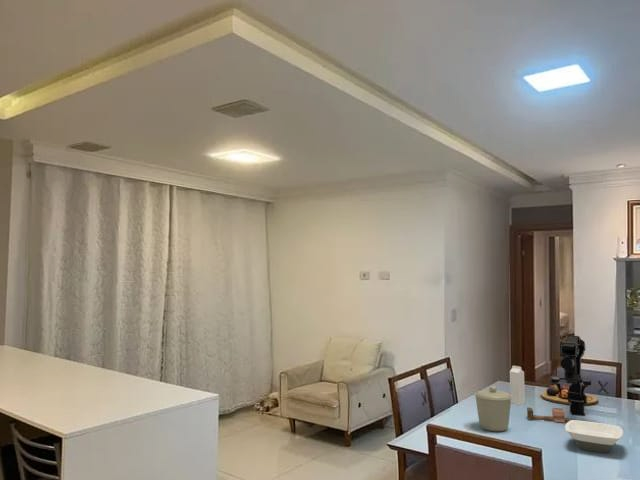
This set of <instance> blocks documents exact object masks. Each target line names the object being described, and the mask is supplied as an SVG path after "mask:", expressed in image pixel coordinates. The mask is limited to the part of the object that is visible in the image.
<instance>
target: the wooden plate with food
mask: <svg viewBox="0 0 640 480" xmlns="http://www.w3.org/2000/svg"><path fill="white" fill-rule="evenodd" d="M568 391H569V386H567V385H561V392H562V396H561V395H560V392H559V389H558V387H557V385H556V384H553V385H551V386H548V388H546V391H543V392H541V393H540V398H542V399H543V400H546V401H548V402H551V403H556V404H562V405H568V406H570V405H569V404H571V402H568ZM585 395H586V398H587V404H584V406H591V405H593V406H594V405H596V403H597V404H598V403H599V399H598V398H597V397H595V396H593V395H590V394H586V393H585ZM583 401H584V400H583Z"/></svg>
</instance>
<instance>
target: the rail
mask: <svg viewBox="0 0 640 480" xmlns="http://www.w3.org/2000/svg"><path fill="white" fill-rule="evenodd" d="M526 410H527V411H526V412H527V414H526V415H527V421H540V420H544V422H552V421H554V417H553V416H549V415H537V414H536V415H534V410H533V408H532V407H528V406H527V408H526ZM569 421H571V419H570V418H569V417H565V422H566V423H565V424H567V422H569Z"/></svg>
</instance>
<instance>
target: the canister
mask: <svg viewBox="0 0 640 480" xmlns="http://www.w3.org/2000/svg"><path fill="white" fill-rule="evenodd" d="M473 396H474V397H475V400H476V401H475V402H476V411H477V417H478V422H479V426H480V427H481V428H482V429H484V430H486V431H488V432H489V431H490V432H504V431H506V430H507V429H508V427H509V425H510V424H509V423H510V422H509V421H510V415H511V405H512V403H511V399H512V396H511V395H510V393H509V392H506V391H503V390H499V389H497V387H496V386H495V385H490V386H489V387H488V389H481V390H478V391H476V392H475V393H474V394H473Z"/></svg>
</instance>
